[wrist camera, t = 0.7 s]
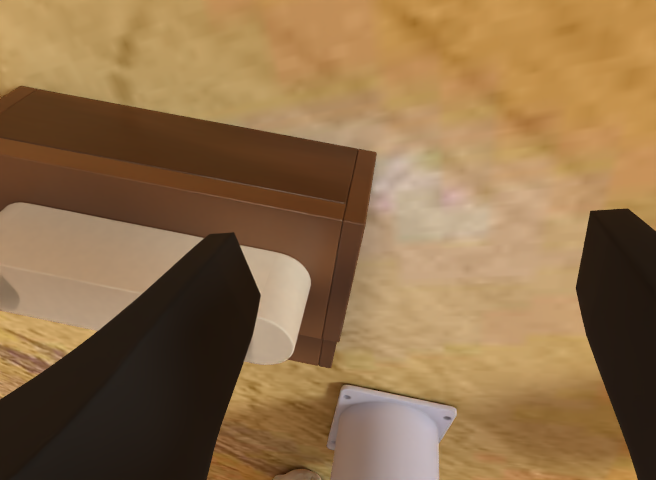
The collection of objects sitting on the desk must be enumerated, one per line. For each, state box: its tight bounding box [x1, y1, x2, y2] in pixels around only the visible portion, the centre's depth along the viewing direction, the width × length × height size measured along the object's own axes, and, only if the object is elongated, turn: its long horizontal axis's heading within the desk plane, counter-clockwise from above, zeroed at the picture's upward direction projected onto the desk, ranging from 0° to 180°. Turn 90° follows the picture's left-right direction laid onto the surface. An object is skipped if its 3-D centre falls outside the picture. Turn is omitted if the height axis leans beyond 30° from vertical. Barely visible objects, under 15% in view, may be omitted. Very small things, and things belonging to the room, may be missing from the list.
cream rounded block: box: [0, 202, 311, 365], centre depth 18 cm, size 6×13×3 cm, turn 83°
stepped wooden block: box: [0, 86, 376, 368], centre depth 23 cm, size 15×16×5 cm
